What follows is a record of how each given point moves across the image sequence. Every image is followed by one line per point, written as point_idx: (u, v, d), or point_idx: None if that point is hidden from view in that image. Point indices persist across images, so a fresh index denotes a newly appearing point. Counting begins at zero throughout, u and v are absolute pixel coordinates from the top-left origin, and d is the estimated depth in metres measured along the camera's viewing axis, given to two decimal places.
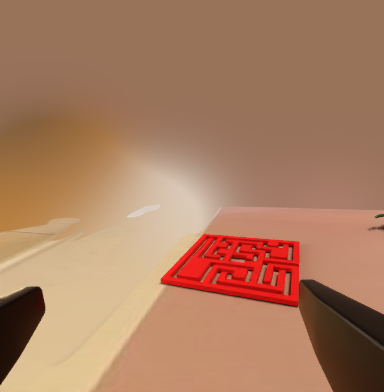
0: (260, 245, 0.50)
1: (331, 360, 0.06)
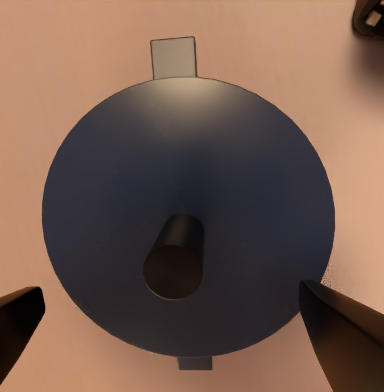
0: None
1: (331, 360, 0.06)
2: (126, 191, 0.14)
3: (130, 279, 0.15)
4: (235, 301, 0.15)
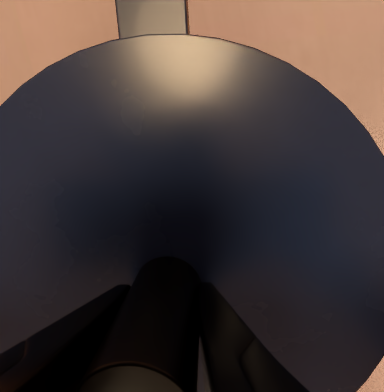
0: None
1: (202, 360, 0.07)
2: (78, 221, 0.09)
3: None
4: None
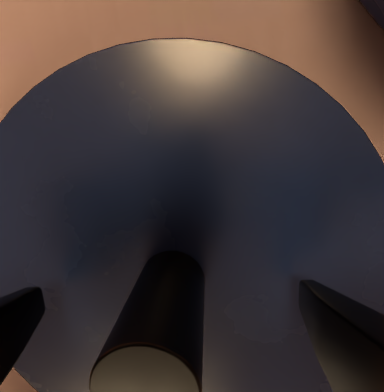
0: None
1: (331, 360, 0.06)
2: (86, 217, 0.09)
3: (97, 342, 0.11)
4: (250, 375, 0.10)
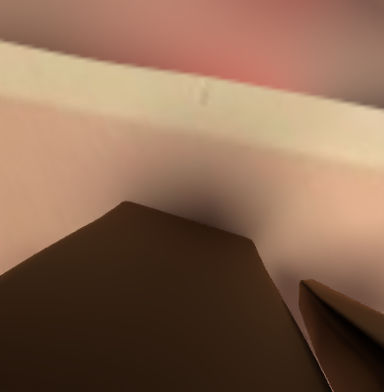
0: None
1: (331, 360, 0.06)
2: None
3: None
4: None
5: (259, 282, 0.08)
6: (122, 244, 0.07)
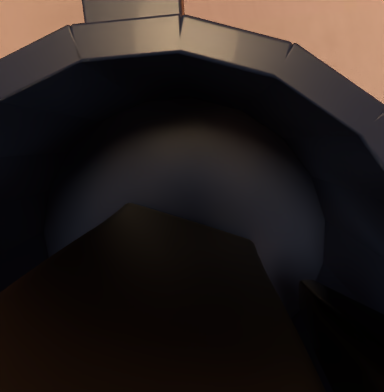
0: None
1: (331, 360, 0.06)
2: None
3: None
4: None
5: (258, 283, 0.08)
6: (127, 247, 0.08)
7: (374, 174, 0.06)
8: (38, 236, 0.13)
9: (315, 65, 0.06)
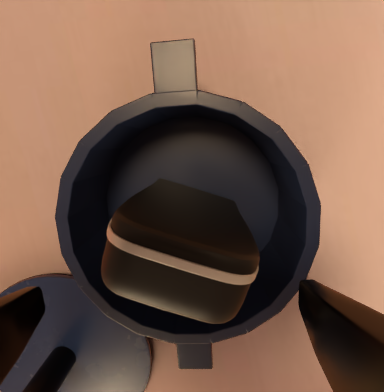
0: None
1: (331, 360, 0.06)
2: None
3: None
4: None
5: (233, 212, 0.16)
6: (168, 193, 0.16)
7: (281, 156, 0.14)
8: (104, 199, 0.21)
9: (251, 110, 0.14)
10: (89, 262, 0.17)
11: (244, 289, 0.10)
